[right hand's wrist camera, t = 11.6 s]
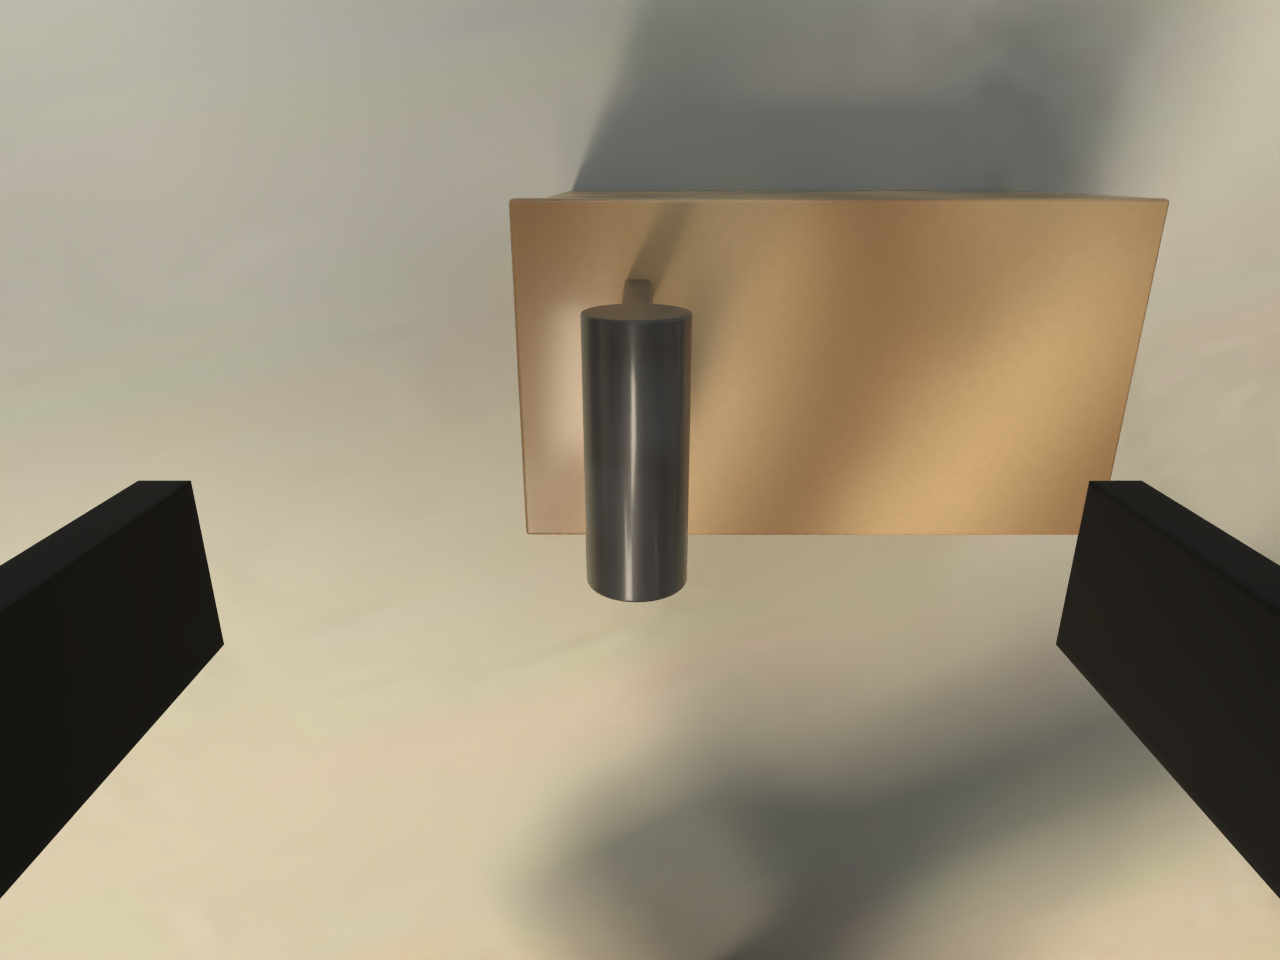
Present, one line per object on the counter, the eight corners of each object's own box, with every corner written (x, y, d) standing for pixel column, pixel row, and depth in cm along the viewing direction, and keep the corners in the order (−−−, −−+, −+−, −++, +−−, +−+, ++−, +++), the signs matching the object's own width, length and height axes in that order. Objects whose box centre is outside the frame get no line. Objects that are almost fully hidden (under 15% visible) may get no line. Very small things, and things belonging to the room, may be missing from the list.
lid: (529, 525, 26) (479, 681, 18) (512, 198, 22) (442, 212, 14) (1086, 525, 26) (1283, 681, 18) (1153, 198, 22) (1433, 211, 14)
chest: (576, 439, 34) (556, 524, 26) (569, 190, 30) (543, 198, 22) (978, 439, 34) (1085, 524, 26) (1015, 190, 30) (1152, 198, 22)
